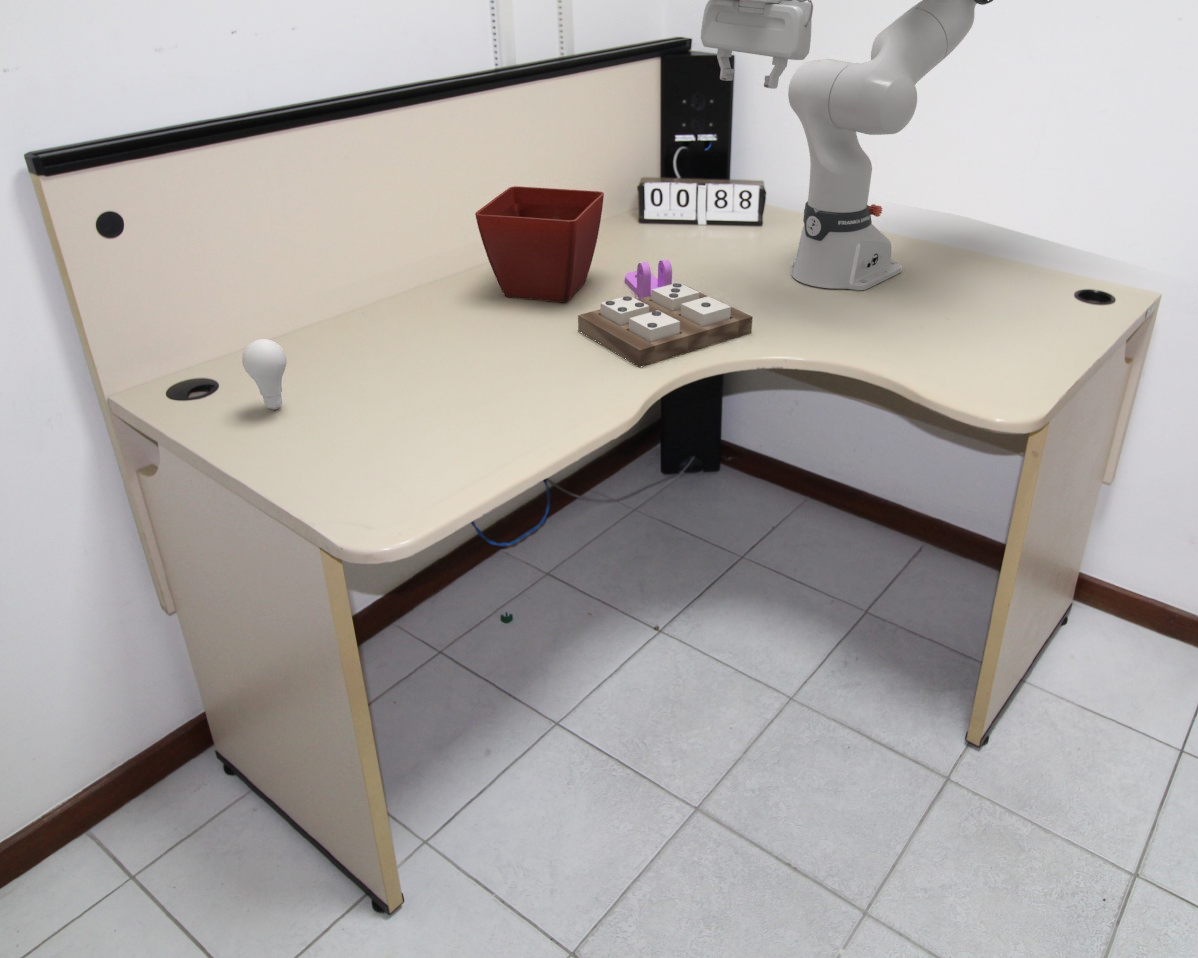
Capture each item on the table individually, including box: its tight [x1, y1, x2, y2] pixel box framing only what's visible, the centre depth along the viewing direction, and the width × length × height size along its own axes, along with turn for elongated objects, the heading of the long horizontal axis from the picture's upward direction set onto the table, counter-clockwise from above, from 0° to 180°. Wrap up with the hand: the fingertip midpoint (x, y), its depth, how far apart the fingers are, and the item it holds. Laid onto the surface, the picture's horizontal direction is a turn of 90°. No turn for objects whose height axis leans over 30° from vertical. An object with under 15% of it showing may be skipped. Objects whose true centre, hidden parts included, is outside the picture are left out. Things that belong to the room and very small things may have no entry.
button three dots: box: [651, 282, 700, 312], centre depth 170 cm, size 6×6×3 cm
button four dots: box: [600, 295, 649, 326], centre depth 165 cm, size 6×6×3 cm
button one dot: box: [681, 295, 732, 327], centre depth 164 cm, size 6×6×3 cm
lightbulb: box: [241, 338, 288, 411], centre depth 140 cm, size 6×6×11 cm
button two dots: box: [629, 310, 680, 343], centre depth 159 cm, size 6×6×3 cm
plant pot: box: [474, 185, 605, 303], centre depth 180 cm, size 19×19×17 cm
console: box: [577, 286, 754, 368], centre depth 166 cm, size 24×18×3 cm
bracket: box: [624, 259, 673, 299], centre depth 183 cm, size 13×6×7 cm, turn 17°
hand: (747, 84), depth 157 cm, fingers open, 8 cm apart
